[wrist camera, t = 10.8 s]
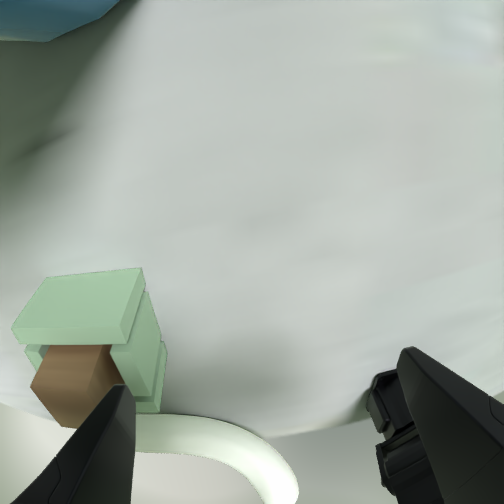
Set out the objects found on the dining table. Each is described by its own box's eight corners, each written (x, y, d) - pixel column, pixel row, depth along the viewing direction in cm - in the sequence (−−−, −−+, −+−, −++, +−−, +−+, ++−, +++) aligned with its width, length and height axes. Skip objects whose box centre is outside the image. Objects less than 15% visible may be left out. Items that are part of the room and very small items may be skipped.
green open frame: (141, 267, 20) (119, 325, 15) (167, 352, 24) (159, 412, 19) (46, 277, 20) (10, 328, 15) (82, 355, 24) (63, 408, 18)
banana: (108, 384, 26) (78, 525, 13) (294, 414, 30) (322, 539, 17) (108, 410, 28) (86, 534, 15) (277, 436, 32) (297, 549, 19)
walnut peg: (137, 335, 23) (114, 432, 15) (93, 336, 23) (61, 426, 15) (122, 293, 21) (86, 391, 13) (76, 297, 21) (29, 386, 13)
